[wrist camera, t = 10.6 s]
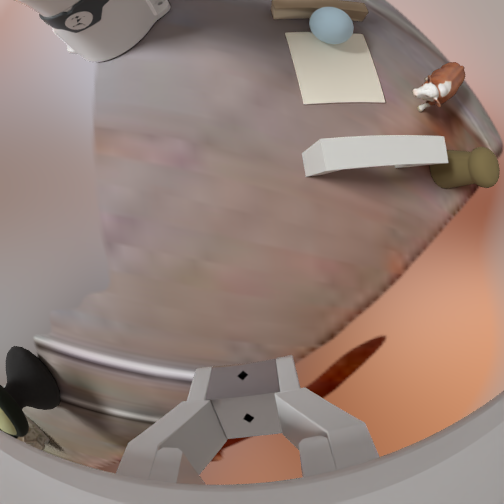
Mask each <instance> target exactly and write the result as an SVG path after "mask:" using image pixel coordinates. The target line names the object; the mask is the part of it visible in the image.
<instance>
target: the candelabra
mask: <svg viewBox="0 0 504 504" xmlns="http://www.w3.org/2000/svg"><path fill="white" fill-rule="evenodd" d="M6 374H7V384H6V387H5V388H3V387H2V386H1V385H0V430H1V431H3V432H5V433H6V434H8V435H10V436H12V437H14V438H16V439H17V438H18V437H23V436H26V435H27V433H28V431H29V424H28V421H27V418H26V416H25V414H24V413H23V411H22V408H23V407H26V406H29V407H33V408H37V409H43V410H48V409H53V408H55V407H56V406H58V405H59V403H60V394H59V389H58V387H57V384H56V382H55V380H54V378H53V377H52V375H51V373H50V372H49V371H48V369H47V368H46V367H45V365H44V364H43V363H42V362H41V361H40V360H39V359H38V358H37V357H36V356H35V355H34V354H32V353H31V352H30V351H29V350H26V349H24V348H22V347H17V346H14V347H12V348H11V349H10V350H9V352H8V353H7V357H6Z"/></svg>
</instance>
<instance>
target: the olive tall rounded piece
mask: <svg viewBox="0 0 504 504" xmlns="http://www.w3.org/2000/svg"><path fill="white" fill-rule="evenodd" d="M446 151H447V157H448V163H443V164H432V165H430V171H431V175H432V178H433V180H434V182H435V183H436V184H437V185H438V186H439V187H441V188H445V189H447V188H453V187H458V186H464V185H470V184H475V183H476V184H477V185H478V186H480V187H484V188H489V187H492V186H494V184H496V182H497V181H498V178H499V164H498V160H497V158H496V156H495V154H494V153H493V152H492V151H491V150H489V149H488V148H485V147H478V148H475V149H473V150H472V151H471V152H467V151H455V150H446Z"/></svg>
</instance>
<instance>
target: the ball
mask: <svg viewBox="0 0 504 504" xmlns="http://www.w3.org/2000/svg"><path fill="white" fill-rule="evenodd" d="M309 25H310V29H311V31H312V33H313V34H314V35H315V36H316V37H317V38H318V39H319V40H321V41H323V42H325V43H328V44H340V43H343V42H345V41H347V40H348V39H349V38H350V37H351V36H352V34H353V29H354V26H353V22H352V20H351V18H350V17H349V16H348V14H346V13H345V12H344V11H342V10H341V9H338V8H335V7H322V8H319V9H317V10H316V11H315V12H314V13H313V14H312V15H311V17H310V21H309Z"/></svg>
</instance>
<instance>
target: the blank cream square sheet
mask: <svg viewBox="0 0 504 504" xmlns="http://www.w3.org/2000/svg"><path fill="white" fill-rule="evenodd" d="M285 35H286V38H287V42H288V45H289V49H290V52H291V56H292V60H293V63H294V67H295V71H296V75H297V79H298V83H299V87H300V91H301V95H302V99H303V104H304V105H308V104H323V103H353V102H369V103H385V99H384V96H383V92H382V89H381V85H380V82H379V78H378V75H377V72H376V69H375V66H374V63H373V60H372V57H371V54H370V52H369V49H368V46H367V44H366V41H365V38H364V36H363V34H354V33H353V34H352V36H351V37H350V38H349V39H348V40H347V41H345V42H343V43H340V44H328V43H325V42H323V41H321V40H319V39H318V38H317V37H316V36H315V35H314V34H313V33H312V32H288V33H285Z"/></svg>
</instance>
